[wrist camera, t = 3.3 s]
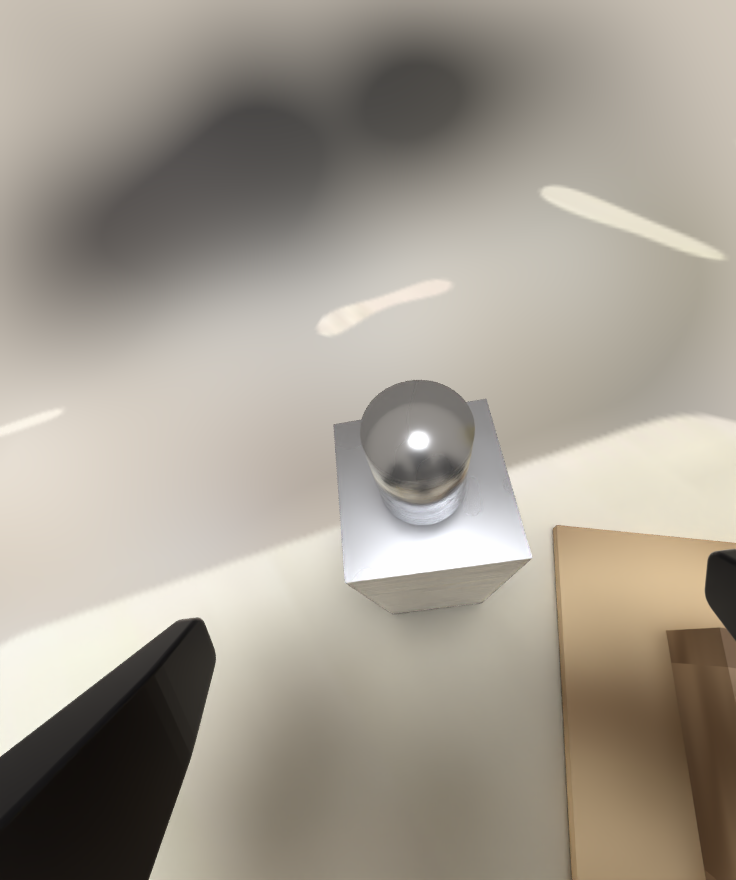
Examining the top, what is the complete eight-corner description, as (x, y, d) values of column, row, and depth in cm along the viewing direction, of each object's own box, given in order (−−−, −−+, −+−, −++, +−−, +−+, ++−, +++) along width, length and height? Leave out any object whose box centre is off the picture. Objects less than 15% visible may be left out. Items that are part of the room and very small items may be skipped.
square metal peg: (481, 602, 16) (572, 522, 5) (392, 614, 16) (309, 559, 6) (462, 515, 18) (502, 321, 7) (381, 527, 18) (302, 358, 7)
